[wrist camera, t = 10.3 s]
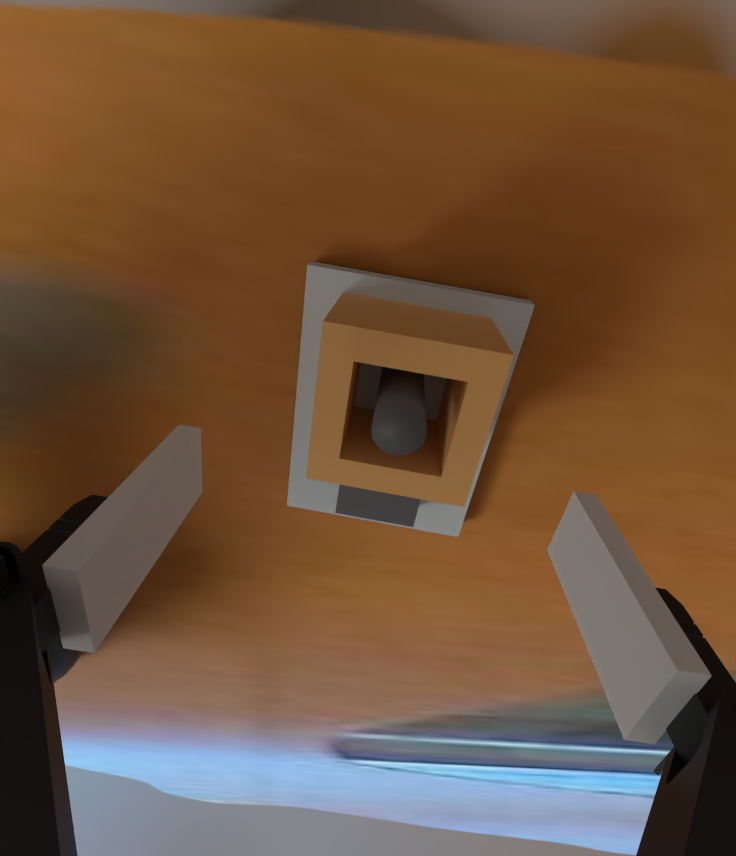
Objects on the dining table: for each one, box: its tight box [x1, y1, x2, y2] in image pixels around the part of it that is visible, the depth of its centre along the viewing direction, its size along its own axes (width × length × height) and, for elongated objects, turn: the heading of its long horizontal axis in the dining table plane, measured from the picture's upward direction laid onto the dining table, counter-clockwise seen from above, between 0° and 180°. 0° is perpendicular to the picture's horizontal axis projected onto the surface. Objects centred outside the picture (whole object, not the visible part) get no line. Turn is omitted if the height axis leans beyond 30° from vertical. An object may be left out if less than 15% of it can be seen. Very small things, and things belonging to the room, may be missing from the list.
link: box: [306, 292, 514, 507], centre depth 23 cm, size 8×8×6 cm
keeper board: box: [287, 261, 535, 537], centre depth 24 cm, size 12×16×8 cm
